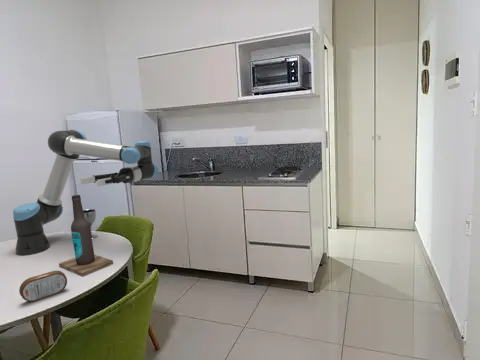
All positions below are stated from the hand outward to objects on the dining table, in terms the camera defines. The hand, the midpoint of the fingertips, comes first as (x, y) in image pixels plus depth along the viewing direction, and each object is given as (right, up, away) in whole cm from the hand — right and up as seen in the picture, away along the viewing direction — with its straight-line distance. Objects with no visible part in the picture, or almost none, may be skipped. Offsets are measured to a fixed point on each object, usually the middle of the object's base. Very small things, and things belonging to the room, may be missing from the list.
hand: (89, 182), depth 151 cm
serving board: (-1, -37, -1) cm, 37 cm away
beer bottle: (-1, -35, -1) cm, 35 cm away
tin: (-3, -41, -28) cm, 50 cm away
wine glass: (-16, -31, +38) cm, 52 cm away
